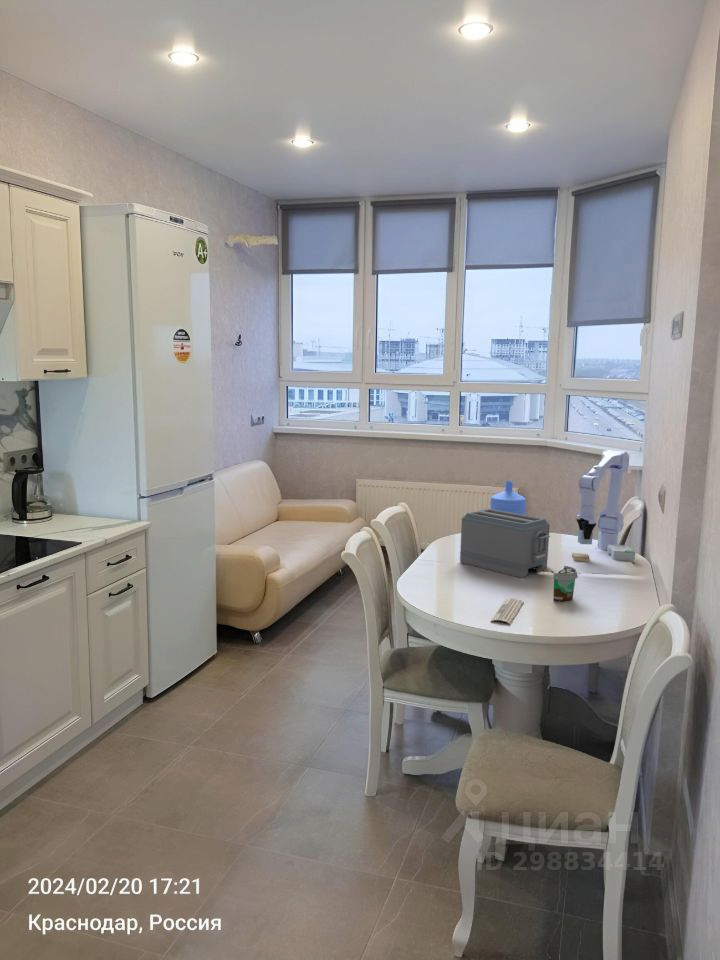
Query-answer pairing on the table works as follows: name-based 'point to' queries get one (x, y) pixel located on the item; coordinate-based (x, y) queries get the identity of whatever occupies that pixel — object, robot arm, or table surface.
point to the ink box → (621, 552)
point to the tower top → (580, 556)
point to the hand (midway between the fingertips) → (585, 537)
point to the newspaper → (508, 610)
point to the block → (581, 538)
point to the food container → (564, 584)
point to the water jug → (508, 501)
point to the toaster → (504, 541)
